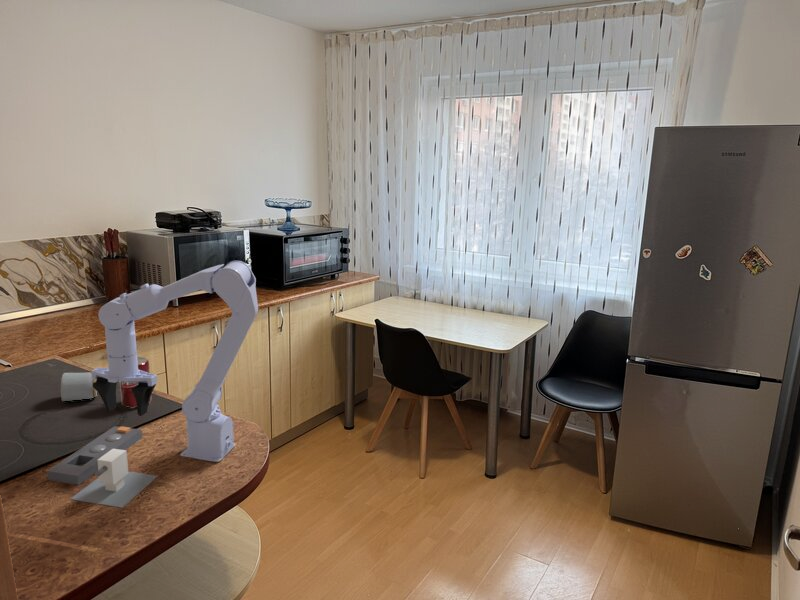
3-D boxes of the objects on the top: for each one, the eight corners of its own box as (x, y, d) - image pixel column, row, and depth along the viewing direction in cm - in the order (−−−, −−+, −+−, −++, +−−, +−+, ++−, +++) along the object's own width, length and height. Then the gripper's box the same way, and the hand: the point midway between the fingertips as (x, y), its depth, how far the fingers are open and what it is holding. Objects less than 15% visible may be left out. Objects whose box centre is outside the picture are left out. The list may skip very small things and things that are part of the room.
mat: (158, 478, 114) (157, 475, 114) (122, 510, 103) (122, 507, 103) (110, 471, 116) (110, 468, 116) (70, 501, 105) (70, 498, 105)
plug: (129, 482, 111) (126, 450, 109) (107, 500, 105) (104, 467, 103) (115, 480, 111) (112, 448, 110) (93, 498, 105) (89, 465, 104)
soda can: (140, 410, 143) (136, 367, 140) (115, 407, 145) (111, 364, 142) (157, 399, 150) (154, 357, 147) (133, 396, 152) (130, 355, 149)
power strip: (115, 435, 130) (114, 423, 129) (142, 439, 129) (141, 427, 128) (48, 482, 111) (46, 468, 110) (79, 486, 110) (77, 473, 109)
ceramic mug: (97, 402, 147) (94, 375, 145) (61, 406, 144) (58, 379, 142) (101, 388, 156) (98, 362, 154) (67, 391, 153) (65, 365, 151)
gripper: (78, 356, 116) (84, 415, 119) (140, 363, 113) (145, 423, 117) (102, 345, 123) (107, 402, 126) (161, 352, 120) (165, 409, 123)
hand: (127, 411), depth 122 cm, fingers open, 7 cm apart
